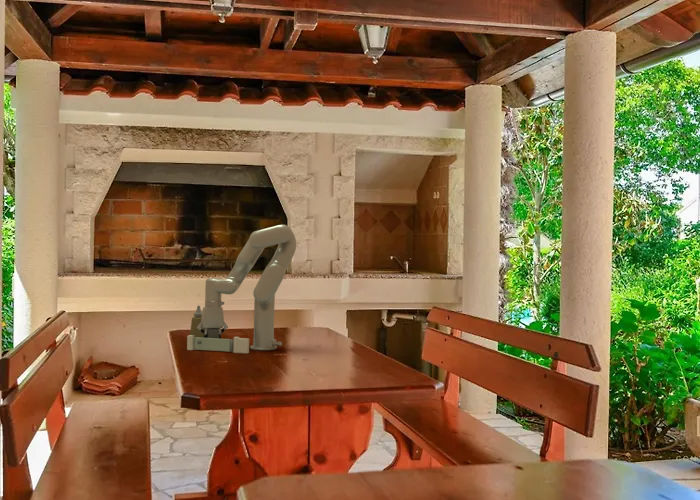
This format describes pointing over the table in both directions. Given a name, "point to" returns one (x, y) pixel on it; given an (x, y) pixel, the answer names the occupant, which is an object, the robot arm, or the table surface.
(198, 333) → the squeeze bottle
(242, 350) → the pale rectangular blocks
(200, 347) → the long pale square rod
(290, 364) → the table surface
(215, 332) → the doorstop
